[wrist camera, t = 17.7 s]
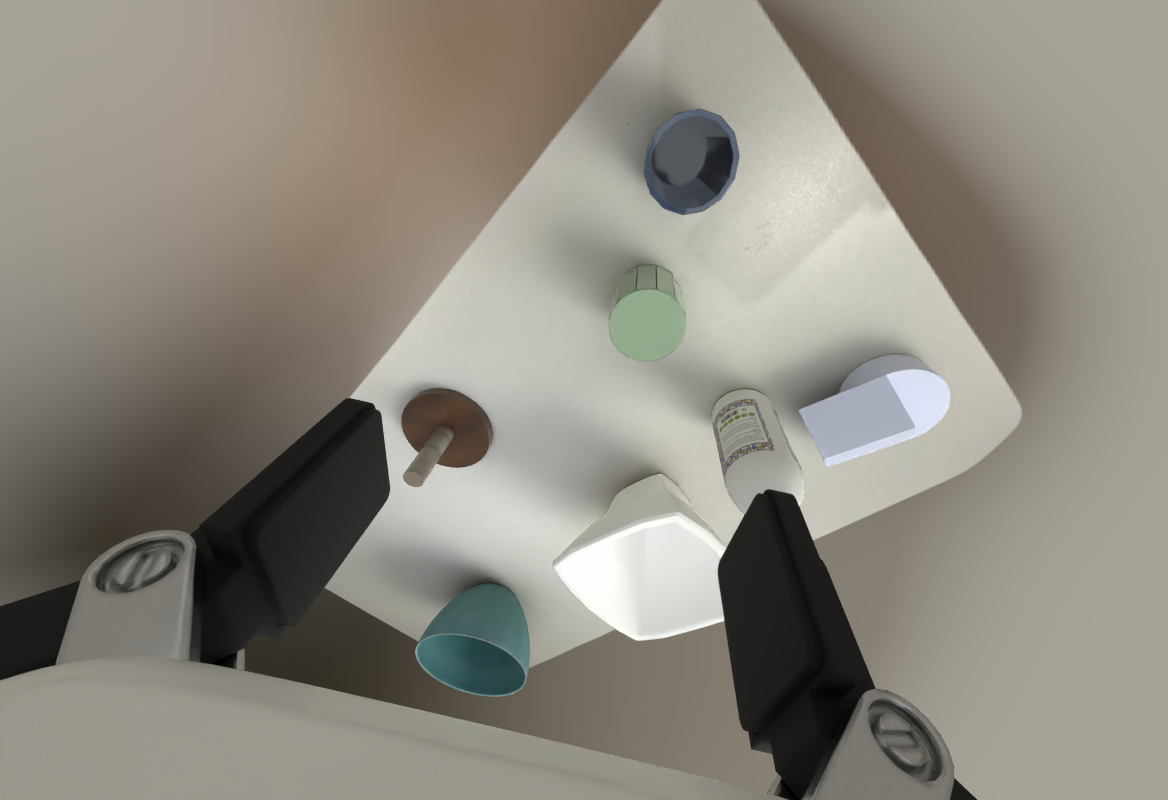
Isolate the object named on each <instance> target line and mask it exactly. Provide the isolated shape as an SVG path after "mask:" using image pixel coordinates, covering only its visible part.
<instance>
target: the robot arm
mask: <svg viewBox="0 0 1168 800" xmlns="http://www.w3.org/2000/svg"><path fill="white" fill-rule="evenodd" d="M389 493H390V483H389V475H388V466H387V458H386V450H385V442H384V433H383V425H382V417H381V413H380V411H378V410H376V409H375V406H374V404H372V403H370V402H365V401H360V400H356V399H351V398H347V399H345V400H344V401H342V402H341V403H340V404H339V405H337V407H335V408H334V409H333V410H332V411H331V412H330V413H328V414H327V415H326V416H325V417H324V418H323V419H321V420H320V421H319V422H318V423H317V424H316V425H315V426H313V427H312V428H311V429H310V430H309V431H308V432H306V433H305V434H304V435H303V436H302V437H301V438H300V439H298V440H297V441H296V442H295V443H294V444H293V445H291V446H290V447H289V448H288V449H287V450H286V451H285V452H284V453H282V454H281V455H280V456H279V457H278V458H277V459H275V460H274V461H273V462H272V463H271V464H270V465H268V466H267V467H266V468H265V469H264V470H263V471H262V472H261V473H259V474H258V475H257V476H256V477H255V478H254V479H253V480H251V481H250V482H249V483H248V484H247V485H245V487H243V488H242V489H241V490H240V491H239V492H238V493H236V494H235V495H234V496H233V497H232V498H231V499H229V500H228V501H227V502H226V503H225V504H224V505H222V506H221V507H220V508H219V509H218V510H217V511H216V512H214V513H213V514H212V515H211V516H210V517H209V518H208V519H206V520H205V521H204V522H203V523H202V524H201V525H199V526H200V527H199V528H198V529H197V530H195V531H194V532H193V533H192V534H191V535H189V534H187V533H184V532H181V531H178V530H159V531H154V532H148V533H145V534H142V535H138V536H135V537H132V538H130V539H128V540H126V541H124V542H122V543H120V544H118V545H116V546H114V547H112V548H111V549H109V550H108V551H107V552H105V553H104V554H102V555H101V556H99V557H98V558H97V559H96V560H95V561H94V562H93V563H92V564H91V565H90V566H89V567H88V568H87V570H86V572H85V574H84V576H83V578H82V579H81V581H78V582H75V583H71V584H68V585H65V586H62V587H59V588H56V589H53V590H50V591H46V592H43V593H40V594H37V595H34V596H31V597H28V598H25V599H22V600H18V601H15V602H13V603H9V604H6V605H3V606H0V800H977V799H976V798H975V797H974V796H973V795H972V794H971V793H969V791H967V790H966V789H965V788H964V787H963V786H962V785H961V784H960V783H959V782H958V781H957V780H956V779H955V778H954V765H953V762H952V758H951V755H950V752H949V750H948V748H947V746H946V744H945V743H944V740H943V739H942V737H941V735H940V734H939V732H938V731H937V730H936V729H935V727H934V726H933V724H932V723H931V722H930V721H929V719H928V718H927V717H926V716H925V715H924V714H923V713H921V712H920V711H919V710H918V709H917V708H916V707H915V706H914V705H913V704H911V703H910V702H908V701H907V700H905V699H904V698H903V697H901V696H899V695H897V694H894V693H892V692H890V691H888V690H881V689H875V686H874V684H873V681H872V679H871V676H870V674H869V671H868V669H867V666H866V664H865V661H864V659H863V656H862V654H861V652H860V649H859V647H858V644H857V642H856V639H855V637H854V634H853V632H852V629H851V627H850V624H849V622H848V619H847V617H846V615H845V612H844V610H843V607H842V605H841V602H840V600H839V597H838V595H837V593H836V590H835V588H834V585H833V583H832V580H831V578H830V575H829V573H828V571H827V568H826V566H825V564H824V562H823V561H822V560H821V559H820V557H819V555H818V552H817V550H816V547H815V545H814V542H813V540H812V537H811V535H810V532H809V530H808V527H807V525H806V522H805V520H804V517H803V515H802V512H801V510H800V507H799V505H798V502H797V500H796V498H795V496H794V495H793V494H790V493H785V492H781V491H776V490H772V489H767V490H765V491H764V493H763V494H761V493H758V494H756V496H755V497H754V499H753V501H752V503H751V504H750V506H749V508H748V510H747V512H746V514H745V515H744V517H743V519H742V521H741V523H740V524H739V526H738V528H737V530H736V532H735V534H734V535H733V537H732V539H731V541H730V543H729V545H728V546H727V548H726V550H725V552H724V554H723V555H722V557H721V559H720V561H719V564H718V581H719V588H720V594H721V601H722V608H723V614H724V621H725V627H726V634H727V640H728V647H729V653H730V660H731V666H732V673H733V680H734V686H735V693H736V699H737V706H738V712H739V719H740V723H741V726H742V728H743V730H745V731H748V732H749V738H750V744H751V749H753V750H757V751H762V752H767V753H771V754H773V759H774V765H775V770H776V772H777V773H778V774H777V775H776V777H775V779H774V781H773V783H772V785H771V787H770V788H769V790H768V792H767V793H764V792H760V791H756V790H752V789H748V788H744V787H741V786H737V785H733V784H729V783H725V782H721V781H717V780H713V779H710V778H706V777H702V776H698V775H694V774H690V773H686V772H681V771H677V770H673V769H669V768H665V767H661V766H656V765H652V764H648V763H644V762H640V761H635V760H631V759H627V758H623V757H619V756H614V755H610V754H605V753H602V752H598V751H593V750H589V749H585V748H581V747H577V746H572V745H568V744H564V743H559V742H555V741H551V740H546V739H542V738H538V737H534V736H529V735H525V734H521V733H517V732H512V731H508V730H503V729H499V728H495V727H491V726H487V725H482V724H478V723H473V722H469V721H465V720H460V719H456V718H452V717H448V716H443V715H439V714H435V713H430V712H426V711H421V710H418V709H413V708H409V707H404V706H400V705H396V704H391V703H387V702H382V701H378V700H373V699H369V698H364V697H360V696H356V695H352V694H347V693H343V692H338V691H334V690H330V689H325V688H321V687H316V686H312V685H307V684H303V683H299V682H294V681H289V680H285V679H280V678H275V677H270V676H266V675H261V674H256V673H251V672H246V671H245V669H244V668H245V664H244V663H245V661H244V659H245V654H244V652H245V651H244V648H245V647H246V646H247V644H248V643H249V642H250V641H251V640H252V638H253V637H254V636H255V635H258V636H263V637H267V638H271V639H276V640H279V639H280V638H281V636H282V635H283V634H284V632H285V631H286V630H287V628H288V627H289V626H295V625H296V624H297V623H298V622H300V620H301V619H302V618H303V617H304V615H305V613H306V612H307V611H308V610H309V608H310V607H311V605H312V604H313V603H314V601H315V600H316V598H317V597H318V596H319V594H320V593H321V591H322V590H323V589H324V587H325V586H326V584H327V583H328V582H329V580H330V579H331V578H332V576H333V575H334V573H335V572H336V571H337V569H338V568H339V566H340V565H341V564H342V562H343V561H344V559H345V558H346V557H347V555H348V554H349V552H350V551H351V550H352V548H353V547H354V546H355V544H356V543H357V541H358V540H359V539H360V537H361V536H362V534H363V533H364V532H365V530H366V529H367V527H368V526H369V525H370V523H371V522H372V520H373V519H374V518H375V516H376V515H377V513H378V512H379V511H380V509H381V508H382V507H383V505H384V504H385V502H386V501H387V499H388V496H389Z"/></svg>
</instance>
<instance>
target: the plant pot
mask: <svg viewBox="0 0 1168 800" xmlns="http://www.w3.org/2000/svg"><path fill="white" fill-rule="evenodd" d="M415 654H416V658H417V660H418V662H419V664H420V665H421V667H422V668H423V669H424V670H425V671H426V672H427V673H429V674H430V675H431V676H432V677H434V678H435V679H437V680H439V681H440V682H442V683H444V684H446V685H448V686H450V687H453V688H455V689H458V690H461V691H464V692H467V693H471V694H476V695H484V696H505V695H510V694H513V693H515V692H517V691H519V690H520V689H521V688H522V687H523V686H524V685H525V683H526V680H527V675H528V669H529V656H530V644H529V633H528V627H527V622H526V619H525V616H524V613H523V610H522V608H521V606H520V604H519V602H518V600H517V598H516V596H515V595H514V594H513V593H512V592H511V591H510V590H509V589H507V588H505V587H503V586H501V585H497V584H493V583H484V584H479V585H477V586H474V587H472V588H471V589H469V590H467V591H465V592H463V593H462V594H460V595H459V596H457V597H456V598H454V599H453V600H452V601H451V602H450V603H448V604H447V605H446V606H445V607H444V608H443V609H442V610H441V611H440V612H439V614H438V615H437V616H436V617H435V618H434V620H433V621H432V622H431V623H430V625H429V626H428V628H427V629H426V631H425V632H424V634H423V635H422V637H421V639H420V641H419V643H418V645H417V647H416V650H415Z"/></svg>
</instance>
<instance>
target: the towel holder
mask: <svg viewBox="0 0 1168 800" xmlns="http://www.w3.org/2000/svg"><path fill="white" fill-rule="evenodd" d="M402 429H403V432H404V434H405V436H406V438H407V440H408V442H409V443H410V444H411V446H412V447H413V448H414V449H415V450H416V451H417V452H418V453H419V454H418V455H417V456H416V458H415V459H414V461H413V462H412V463H411V465H410V466H409V467H408V469H407V470H406V472H405V473H404V475H403V479H404V481H405V482H406V483H407V484H408V485H410V486H413V487H420V486H421V485H422V484H423V483H424V481H425V480H426V478H427V477H428V475H429V474H430V472H431V471H432V469H433V468H434V466H435V465H436V463H437V464H439V465H443V466H447V467H455V468H459V467H467V466H471V465H473V464H475V463H477V462H478V461H480V460H481V459H482V458H483V457H484V456H485V454H486V453H487V451H488V449H489V447H490V445H491V442H492V427H491V424H490V421H489V419H488V417H487V415H486V414H485V412H484V411H483V410H482V409H481V407H480V406H478V405H477V404H476V403H475V402H474V401H473V400H471V399H470V398H468V397H467V396H465V395H463V394H461V393H458V392H456V391H452V390H448V389H429V390H425V391H423V392H421V393H419V394H417V395H416V396H415V397H414V398H413V399H412V400H411V401H410V402H409V403H408V404H407V405H406V407H405V409H404V411H403V414H402Z"/></svg>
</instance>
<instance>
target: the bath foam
mask: <svg viewBox="0 0 1168 800" xmlns="http://www.w3.org/2000/svg"><path fill="white" fill-rule="evenodd" d="M712 423H713V428H714V434H715V438H716V443H717V448H718V452H719V457H720V462H721V467H722V471H723V476H724V481H725V485H726V488H727V491H728V493H729V495H730V497H731V499H732V501H733V502H734V504H735V505H736V506H737V507H738V509H739V510H740V511H742V512H743V513H744V514H746V512H747V510H748V508H749V506H750V504H751V503H752V501H753V499H754V497H755V496H756V494H758V493H761V494H763V493H764V491H765V490H767V489H772V490H776V491H781V492H785V493H790V494H793V495H794V496H795V498H796V500H797V502H798V505H799V507H800V505H801V503H802V500H803V496H804V478H803V474H802V470H801V467H800V465H799V463H798V460H797V458H796V456H795V454H794V451H793V449H792V447H791V445H790V443H789V440H788V438H787V436H786V434H785V431H784V429H783V427H782V425H781V423H780V420H779V418H778V416H777V414H776V412H775V410H774V407H773V405H772V403H771V402H770V400H769V399H768V398H767V397H766V396H765V395H763V394H762V393H760V392H758V391H755V390H749V389H741V390H736V391H732V392H730V393H728V394H726V395H724V396H723V397H722V398H720V399H719V400H718V401H717V403H716V404H715V406H714V408H713V411H712Z"/></svg>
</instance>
